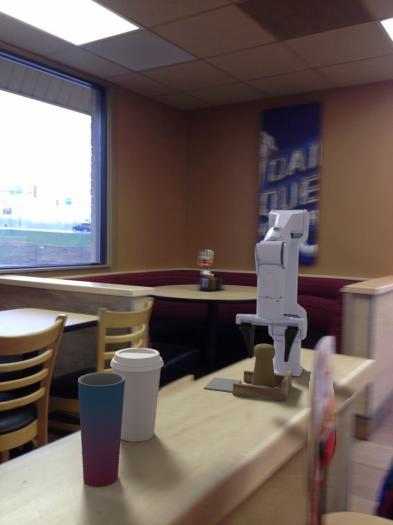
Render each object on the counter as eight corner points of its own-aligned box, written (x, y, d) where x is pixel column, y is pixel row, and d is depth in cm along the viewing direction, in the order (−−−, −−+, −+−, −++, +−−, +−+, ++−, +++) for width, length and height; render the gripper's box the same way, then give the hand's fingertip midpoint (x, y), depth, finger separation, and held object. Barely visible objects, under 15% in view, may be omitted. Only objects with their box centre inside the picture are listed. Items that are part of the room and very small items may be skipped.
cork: (275, 386, 115) (276, 342, 115) (277, 394, 109) (278, 348, 109) (250, 385, 116) (251, 341, 115) (250, 393, 110) (252, 346, 109)
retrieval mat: (214, 378, 121) (214, 377, 121) (241, 381, 119) (241, 380, 119) (203, 388, 113) (203, 387, 113) (232, 392, 110) (232, 391, 110)
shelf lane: (244, 380, 120) (244, 364, 120) (292, 385, 116) (292, 369, 116) (232, 394, 109) (233, 377, 109) (285, 401, 105) (285, 383, 105)
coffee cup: (171, 429, 88) (173, 350, 87) (145, 450, 79) (146, 362, 79) (128, 420, 92) (129, 344, 91) (98, 439, 83) (99, 355, 83)
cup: (81, 467, 73) (81, 372, 72) (125, 466, 74) (126, 371, 73) (73, 490, 66) (74, 385, 66) (122, 489, 67) (123, 385, 66)
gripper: (232, 296, 100) (231, 359, 101) (302, 301, 95) (300, 367, 96) (241, 293, 107) (239, 352, 107) (306, 297, 102) (304, 359, 102)
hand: (268, 359), depth 102 cm, fingers open, 7 cm apart
